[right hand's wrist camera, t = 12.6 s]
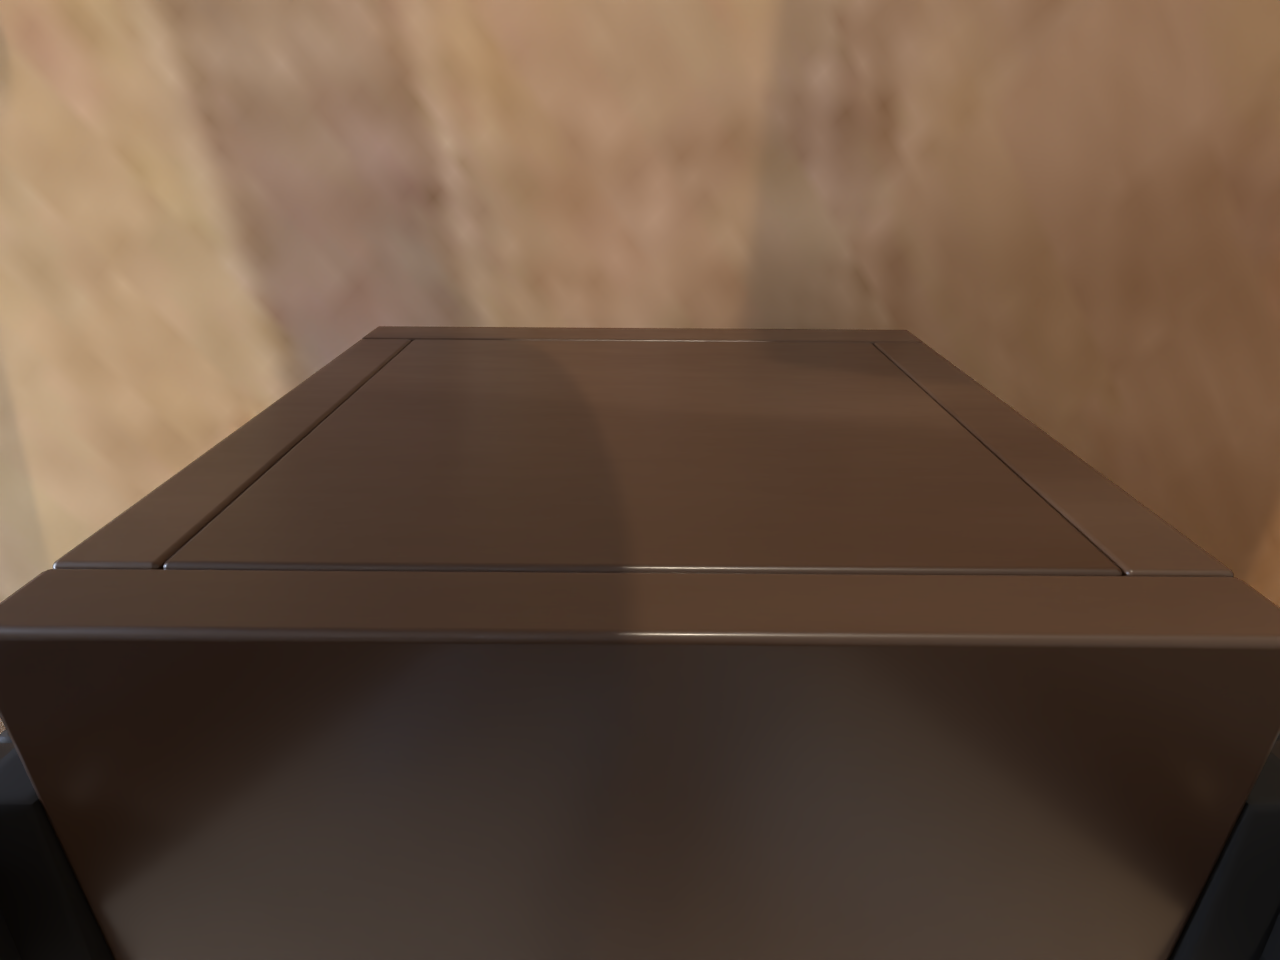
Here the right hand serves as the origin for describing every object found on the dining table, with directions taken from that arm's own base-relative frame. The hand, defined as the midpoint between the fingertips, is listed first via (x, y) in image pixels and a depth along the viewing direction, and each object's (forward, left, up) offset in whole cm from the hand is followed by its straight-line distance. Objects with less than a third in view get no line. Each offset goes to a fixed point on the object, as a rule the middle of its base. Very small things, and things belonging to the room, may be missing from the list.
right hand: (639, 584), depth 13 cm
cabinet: (+1, -7, -5) cm, 8 cm away
